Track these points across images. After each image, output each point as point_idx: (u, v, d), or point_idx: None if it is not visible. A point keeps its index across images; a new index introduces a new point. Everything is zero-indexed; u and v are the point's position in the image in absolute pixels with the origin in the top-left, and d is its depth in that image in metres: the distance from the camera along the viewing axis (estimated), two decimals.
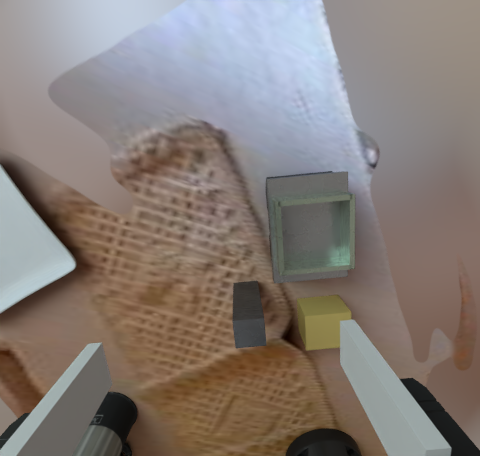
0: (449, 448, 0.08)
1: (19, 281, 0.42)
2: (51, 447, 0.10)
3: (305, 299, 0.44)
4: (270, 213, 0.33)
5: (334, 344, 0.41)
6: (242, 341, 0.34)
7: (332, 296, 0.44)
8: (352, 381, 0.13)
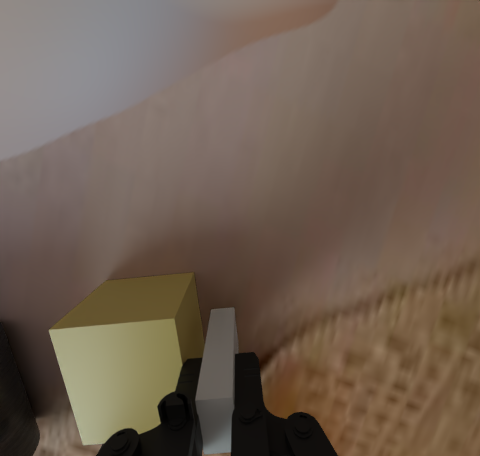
0: (231, 397, 0.10)
1: None
2: None
3: None
4: None
5: (170, 366, 0.13)
6: None
7: None
8: None
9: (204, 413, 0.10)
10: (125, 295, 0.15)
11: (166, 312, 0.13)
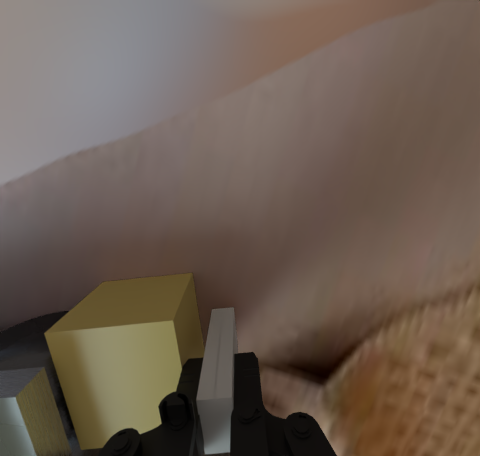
0: (230, 397, 0.10)
1: None
2: None
3: None
4: None
5: (169, 369, 0.13)
6: None
7: None
8: None
9: (205, 413, 0.10)
10: (122, 297, 0.15)
11: (164, 314, 0.13)
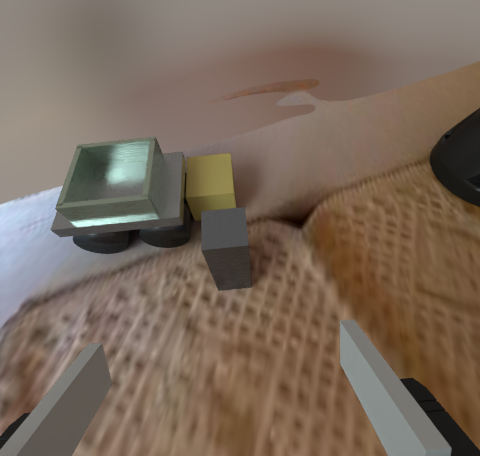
0: (449, 448, 0.08)
1: None
2: (51, 447, 0.10)
3: None
4: (90, 225, 0.28)
5: (227, 167, 0.34)
6: (236, 236, 0.22)
7: None
8: (352, 381, 0.13)
9: None
10: None
11: None
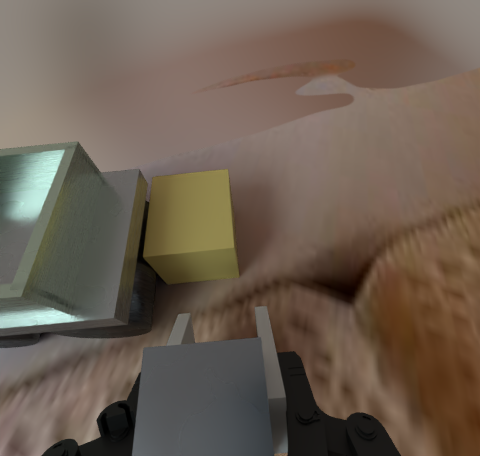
0: (284, 397, 0.10)
1: None
2: None
3: None
4: None
5: (221, 195, 0.19)
6: None
7: None
8: None
9: None
10: None
11: None
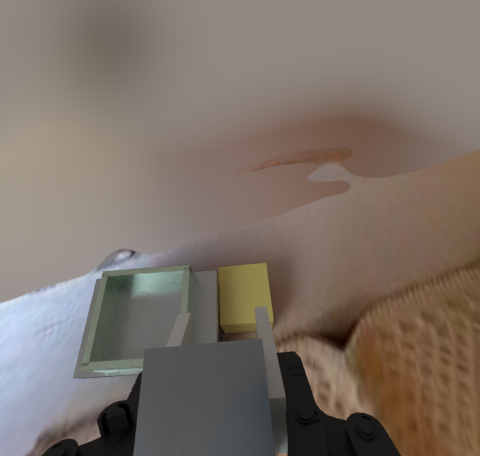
0: (284, 397, 0.10)
1: None
2: None
3: None
4: (117, 373, 0.25)
5: (263, 283, 0.31)
6: None
7: None
8: None
9: None
10: None
11: None
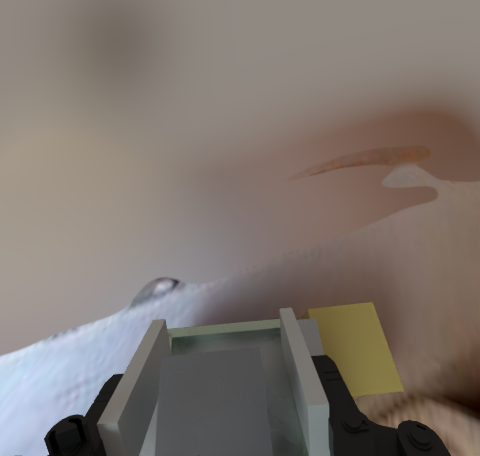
0: (327, 404, 0.09)
1: None
2: (143, 400, 0.12)
3: None
4: None
5: (376, 332, 0.23)
6: (244, 445, 0.09)
7: None
8: (286, 361, 0.15)
9: (108, 437, 0.10)
10: None
11: None
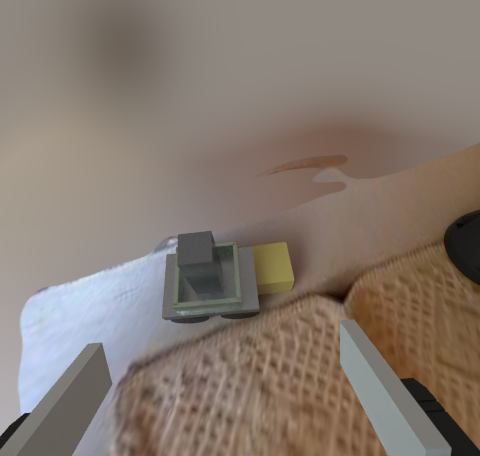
0: (449, 448, 0.08)
1: None
2: (51, 447, 0.10)
3: None
4: (191, 314, 0.37)
5: (285, 255, 0.44)
6: (204, 254, 0.30)
7: None
8: (352, 381, 0.13)
9: None
10: None
11: None
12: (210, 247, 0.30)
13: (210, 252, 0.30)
